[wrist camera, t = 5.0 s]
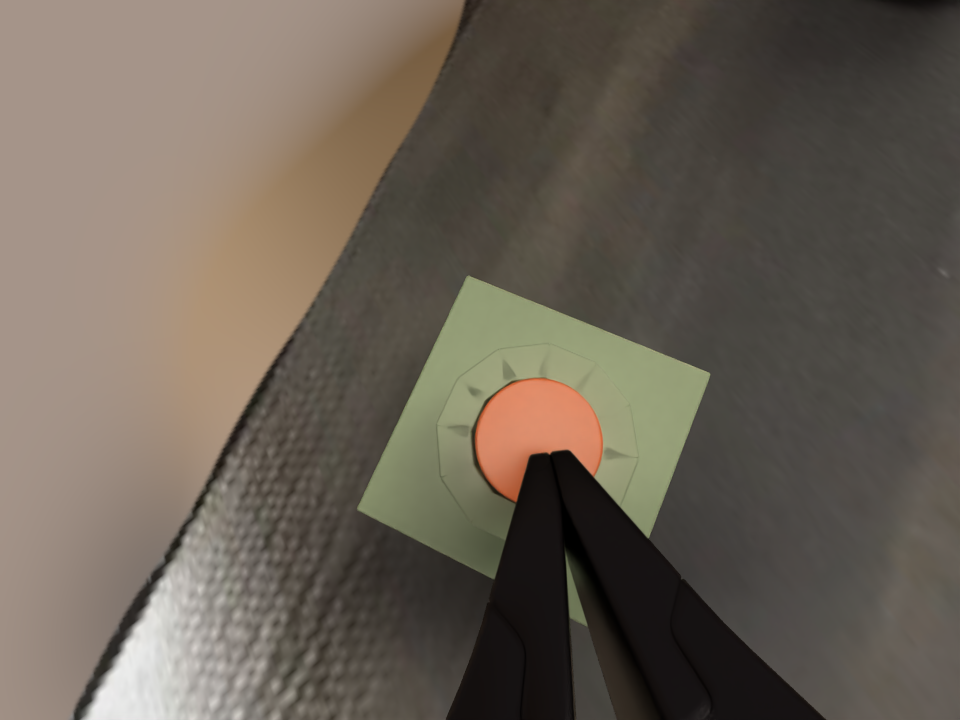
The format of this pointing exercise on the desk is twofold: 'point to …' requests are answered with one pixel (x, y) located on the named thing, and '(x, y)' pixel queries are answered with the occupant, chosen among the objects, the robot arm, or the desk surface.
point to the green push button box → (484, 372)
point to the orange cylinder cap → (534, 430)
